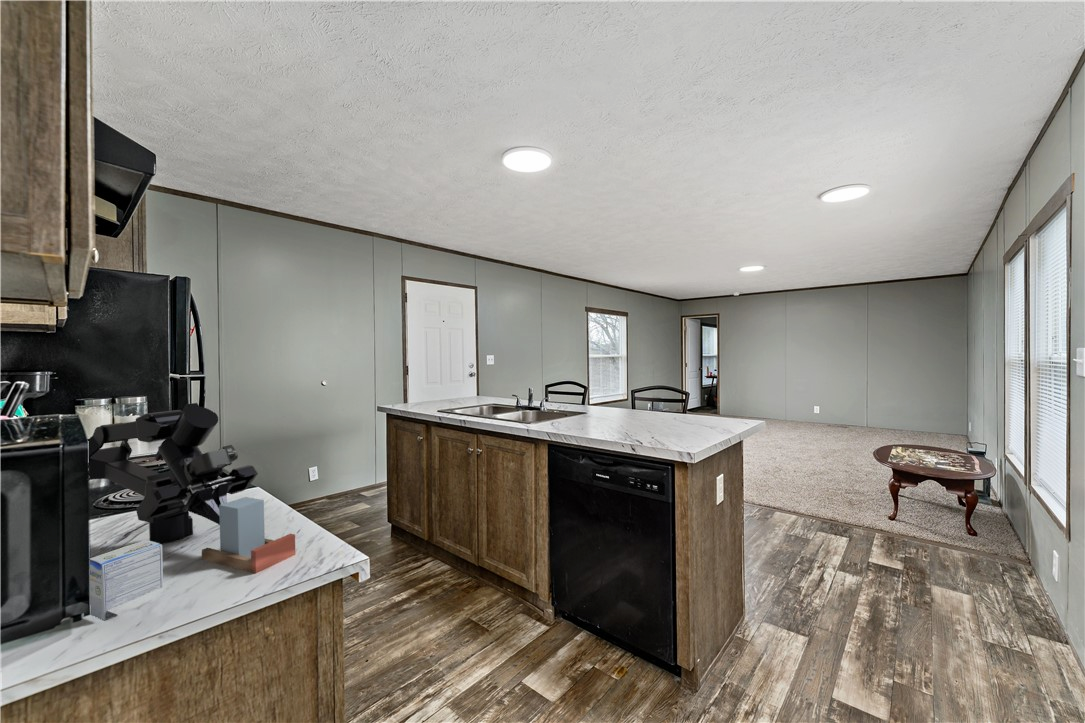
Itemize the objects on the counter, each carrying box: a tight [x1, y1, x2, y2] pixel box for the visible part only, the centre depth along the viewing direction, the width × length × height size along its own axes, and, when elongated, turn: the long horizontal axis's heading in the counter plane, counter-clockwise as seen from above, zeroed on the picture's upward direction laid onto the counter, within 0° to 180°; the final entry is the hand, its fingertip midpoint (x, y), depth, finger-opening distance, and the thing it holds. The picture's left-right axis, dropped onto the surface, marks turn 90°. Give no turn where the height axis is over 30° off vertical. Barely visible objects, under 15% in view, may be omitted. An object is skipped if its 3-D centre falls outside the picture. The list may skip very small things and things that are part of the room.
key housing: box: [201, 533, 296, 574], centre depth 87 cm, size 15×9×5 cm, turn 68°
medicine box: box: [89, 539, 164, 621], centre depth 73 cm, size 8×4×9 cm, turn 157°
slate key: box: [219, 496, 266, 558], centre depth 87 cm, size 5×5×10 cm
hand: (225, 523), depth 89 cm, fingers closed
